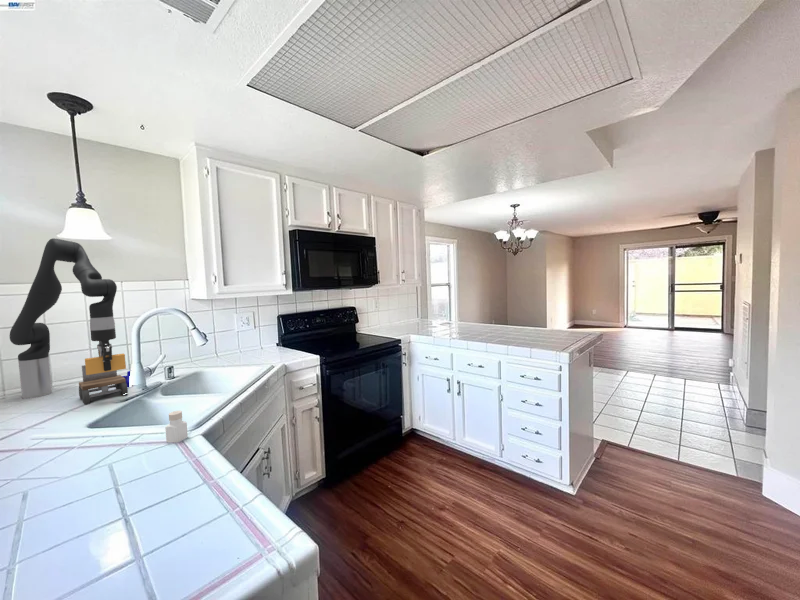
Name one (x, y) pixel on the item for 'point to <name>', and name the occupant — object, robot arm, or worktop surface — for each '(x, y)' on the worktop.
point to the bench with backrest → (100, 384)
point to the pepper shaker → (176, 428)
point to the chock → (96, 364)
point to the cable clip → (127, 378)
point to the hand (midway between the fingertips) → (106, 369)
